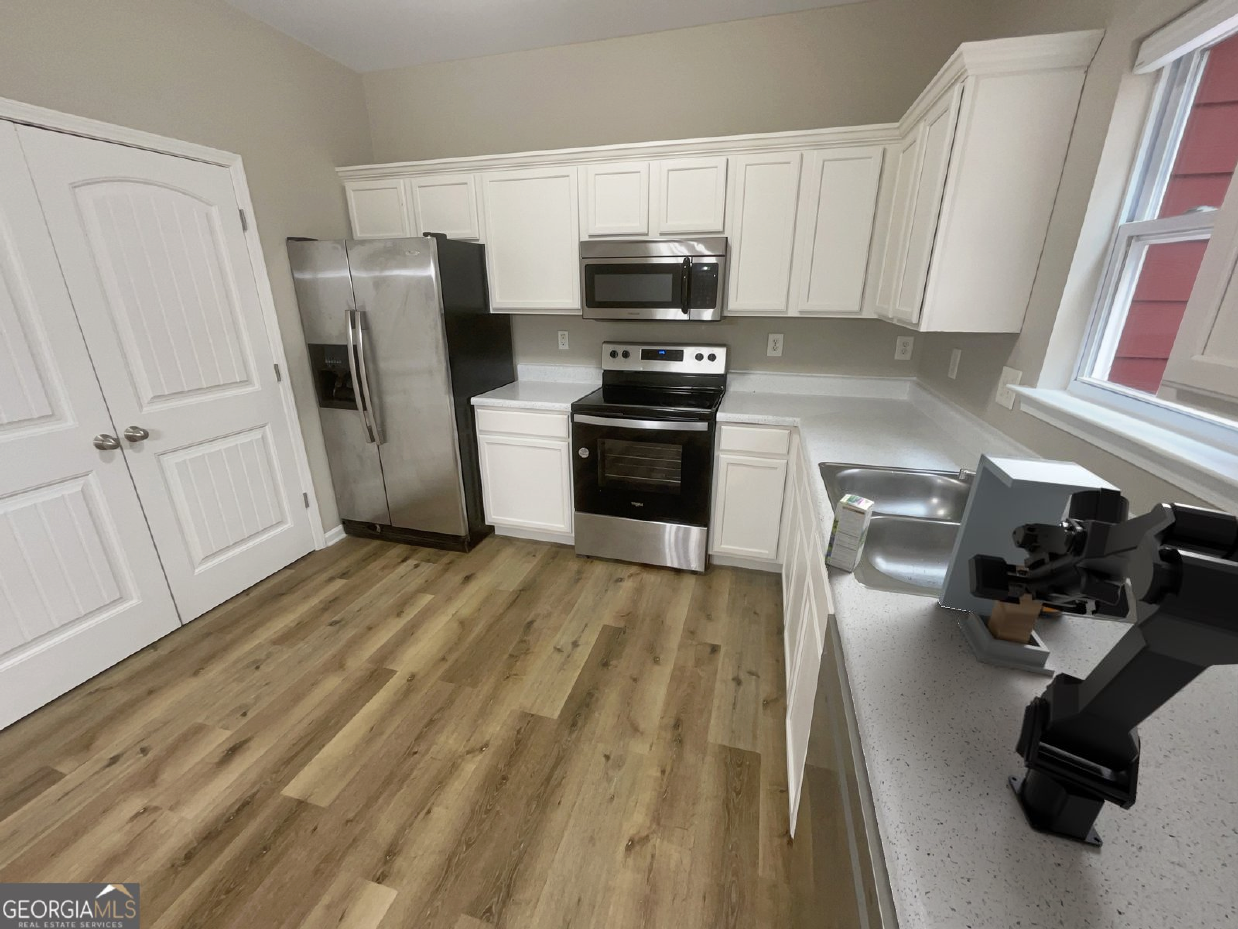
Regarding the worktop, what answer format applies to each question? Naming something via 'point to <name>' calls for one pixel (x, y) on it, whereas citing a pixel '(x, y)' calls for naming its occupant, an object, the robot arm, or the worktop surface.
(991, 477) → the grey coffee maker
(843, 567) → the syrup box
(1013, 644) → the socket
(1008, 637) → the peg
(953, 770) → the worktop surface
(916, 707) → the worktop surface
